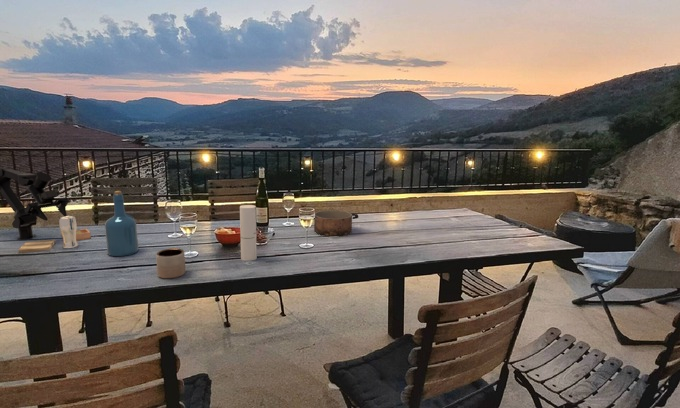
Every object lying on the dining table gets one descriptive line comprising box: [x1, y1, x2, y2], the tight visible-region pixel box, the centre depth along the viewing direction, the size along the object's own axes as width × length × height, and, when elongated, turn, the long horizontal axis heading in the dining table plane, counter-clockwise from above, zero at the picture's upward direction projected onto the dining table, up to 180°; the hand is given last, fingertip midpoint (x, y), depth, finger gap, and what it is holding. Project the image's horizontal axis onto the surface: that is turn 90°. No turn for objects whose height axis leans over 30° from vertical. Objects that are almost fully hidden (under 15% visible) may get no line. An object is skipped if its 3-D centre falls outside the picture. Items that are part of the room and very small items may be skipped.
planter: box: [155, 248, 187, 280], centre depth 163 cm, size 11×11×10 cm
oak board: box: [17, 239, 56, 254], centre depth 193 cm, size 14×12×2 cm
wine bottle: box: [104, 190, 139, 257], centre depth 186 cm, size 14×13×30 cm
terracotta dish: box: [76, 228, 92, 242], centre depth 210 cm, size 9×9×4 cm
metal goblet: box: [58, 215, 79, 249], centre depth 194 cm, size 7×7×15 cm
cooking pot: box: [313, 209, 359, 237], centre depth 233 cm, size 30×22×11 cm
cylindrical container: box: [239, 204, 258, 262], centre depth 183 cm, size 7×7×25 cm
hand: (56, 218), depth 196 cm, fingers open, 9 cm apart
